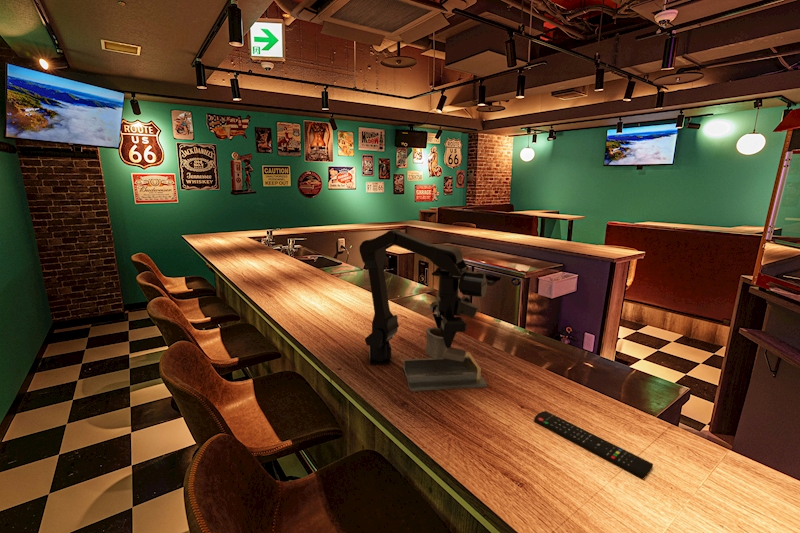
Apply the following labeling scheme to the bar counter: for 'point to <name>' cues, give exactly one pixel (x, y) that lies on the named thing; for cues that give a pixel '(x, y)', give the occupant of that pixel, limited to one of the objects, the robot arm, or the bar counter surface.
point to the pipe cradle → (443, 374)
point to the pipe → (441, 347)
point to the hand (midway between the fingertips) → (445, 343)
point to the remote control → (595, 444)
